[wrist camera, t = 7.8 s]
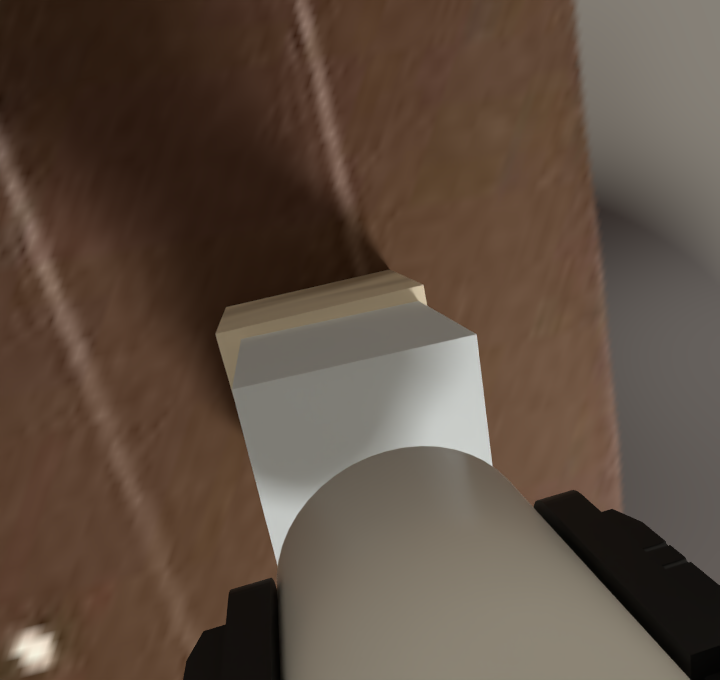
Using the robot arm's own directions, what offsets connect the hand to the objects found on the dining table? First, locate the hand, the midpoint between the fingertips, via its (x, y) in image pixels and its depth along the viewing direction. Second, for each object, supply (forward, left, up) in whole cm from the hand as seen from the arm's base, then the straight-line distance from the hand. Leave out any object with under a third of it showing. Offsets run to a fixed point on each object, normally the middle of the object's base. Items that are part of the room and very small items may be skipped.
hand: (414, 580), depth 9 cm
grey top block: (0, 0, -9) cm, 9 cm away
